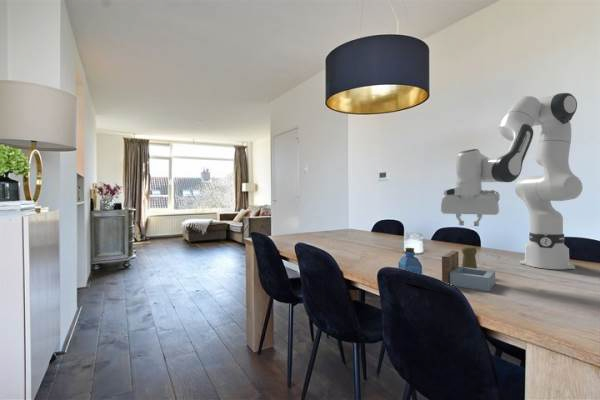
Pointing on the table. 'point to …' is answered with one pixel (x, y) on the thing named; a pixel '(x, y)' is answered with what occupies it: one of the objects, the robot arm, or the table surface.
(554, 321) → the table surface
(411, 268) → the perfume bottle
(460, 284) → the socket block
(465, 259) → the cork
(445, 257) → the wall
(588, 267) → the table surface
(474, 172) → the robot arm
